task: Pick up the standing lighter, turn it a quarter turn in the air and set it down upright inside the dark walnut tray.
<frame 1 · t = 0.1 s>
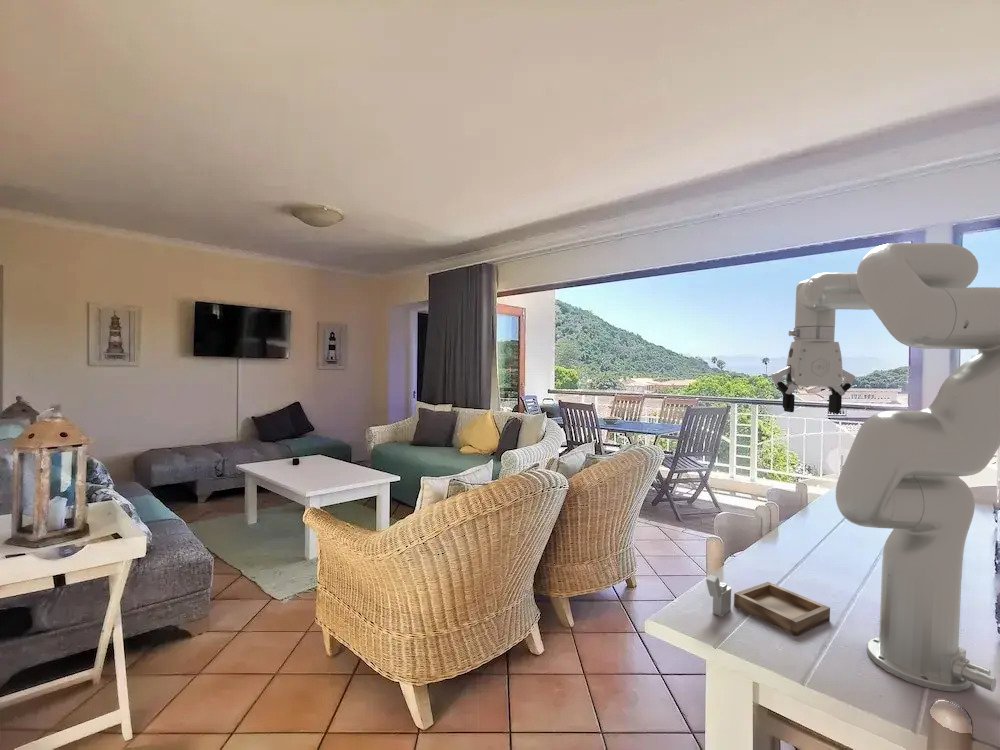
hand: (811, 412, 109), 37 cm above the table, tool pointing down, fingers open, 9 cm apart
lighter: (718, 614, 93), on the table
tray: (780, 613, 94), on the table
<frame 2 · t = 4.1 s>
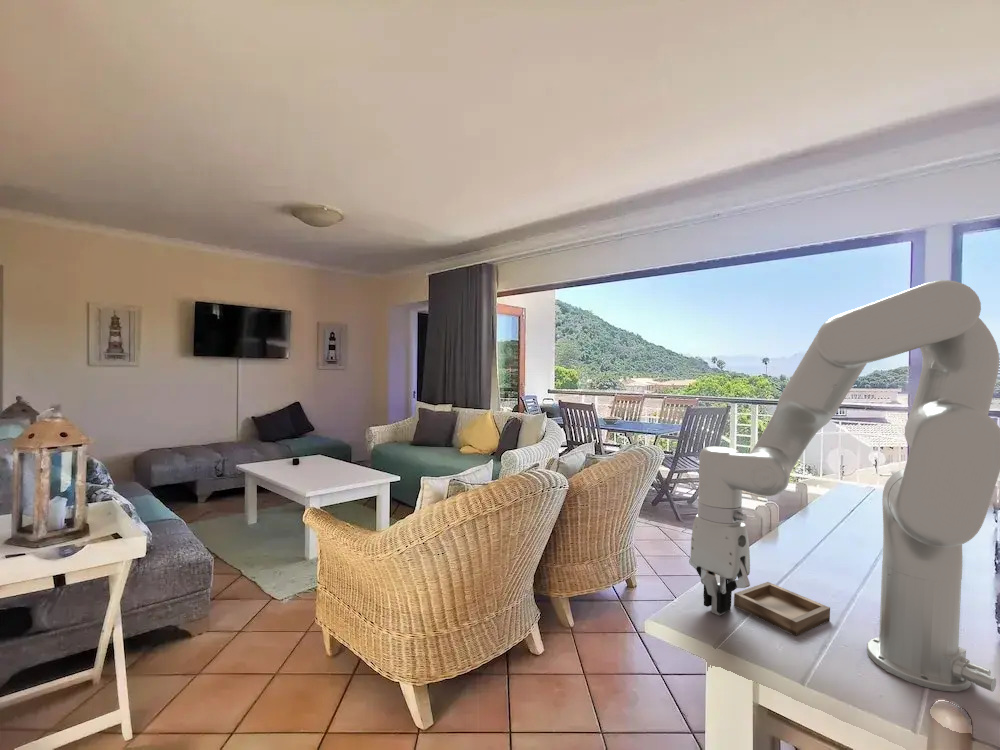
hand: (716, 607, 93), 1 cm above the table, tool pointing down, fingers closed on lighter, 2 cm apart
lighter: (716, 613, 93), on the table, touching gripper
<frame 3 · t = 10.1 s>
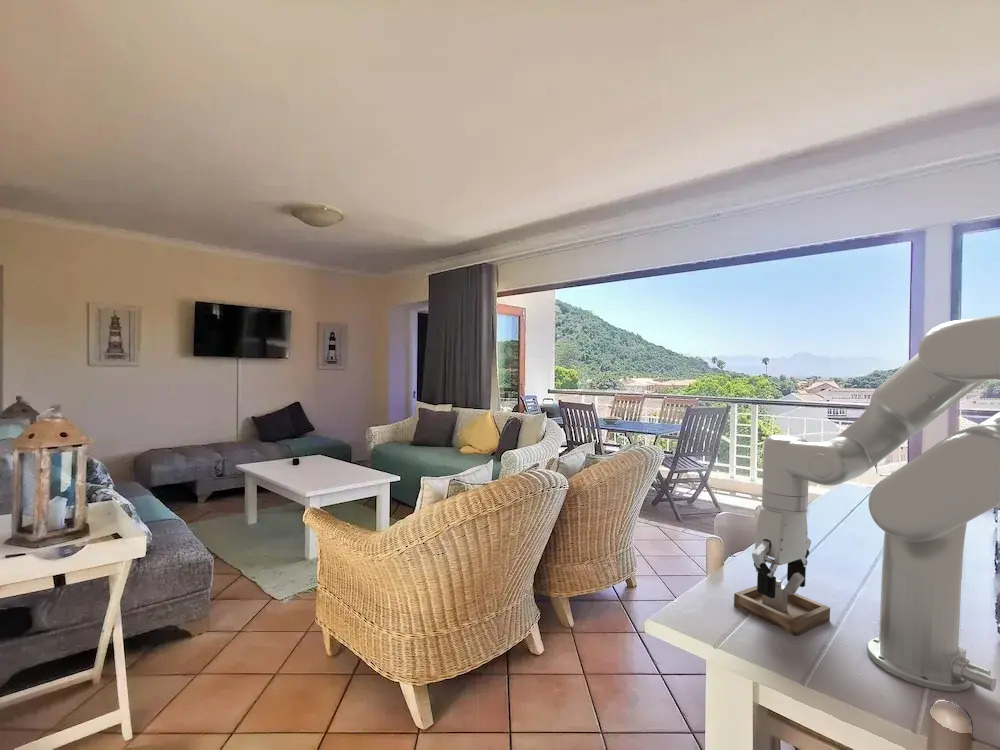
hand: (781, 589, 93), 5 cm above the table, tool pointing down, fingers open, 9 cm apart
lighter: (781, 610, 93), point 1 cm above the table, touching tray
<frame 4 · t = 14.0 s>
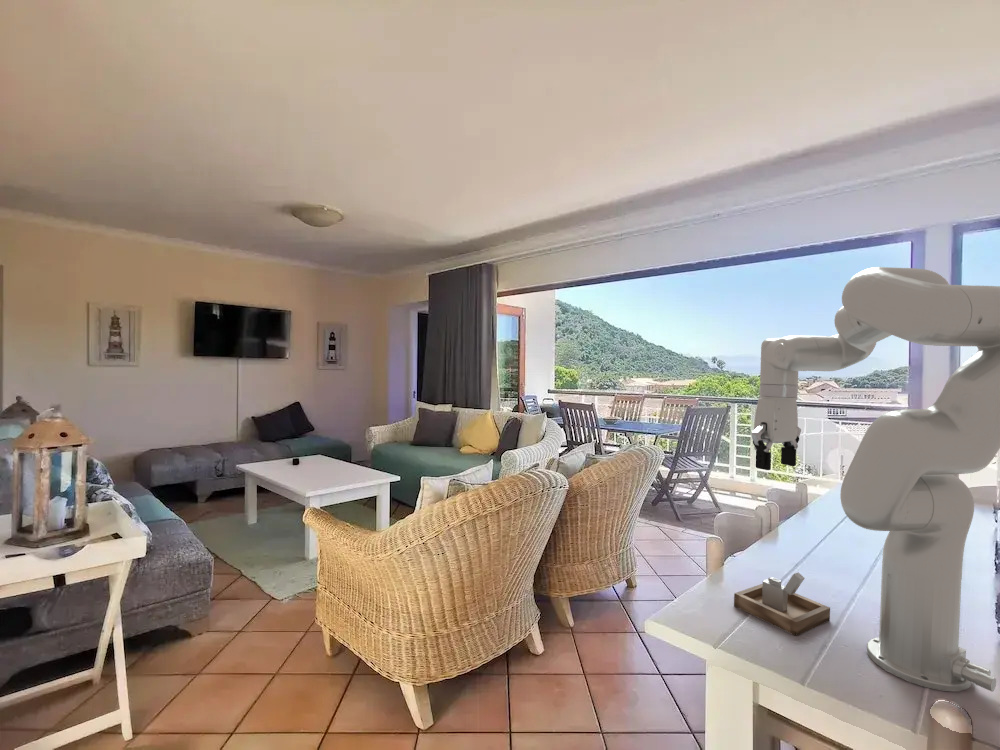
hand: (775, 466, 112), 24 cm above the table, tool pointing down, fingers open, 9 cm apart
nothing on the table moved.
at the end: lighter inside the target area on the tray (0.2 cm from its centre), point 0.6 cm above the tray's base; lighter tilted 0°; the gripper is holding nothing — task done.
